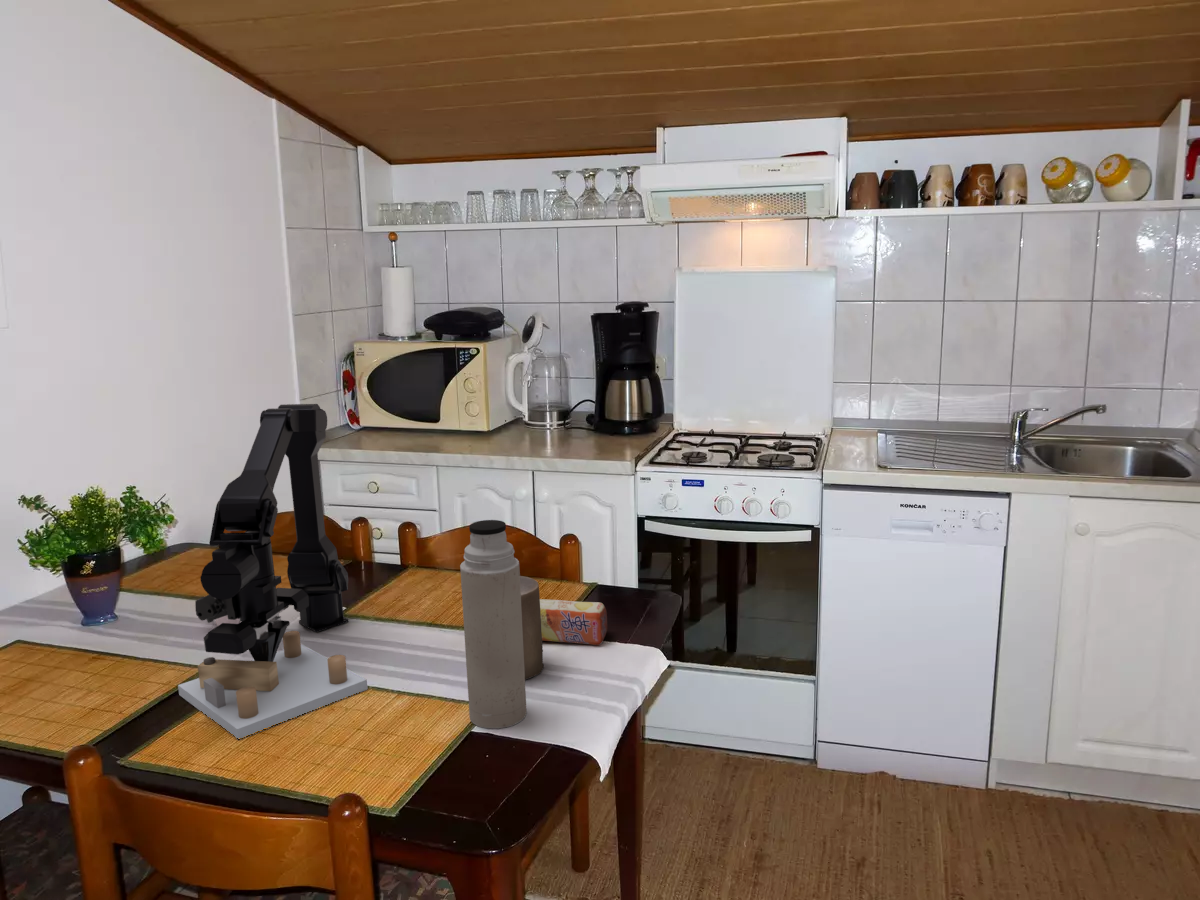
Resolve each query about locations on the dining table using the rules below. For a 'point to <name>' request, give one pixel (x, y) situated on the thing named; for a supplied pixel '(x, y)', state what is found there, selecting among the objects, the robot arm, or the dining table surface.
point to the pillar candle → (531, 627)
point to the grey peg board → (277, 690)
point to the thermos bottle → (493, 627)
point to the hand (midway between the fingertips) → (265, 672)
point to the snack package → (573, 621)
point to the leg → (239, 673)
